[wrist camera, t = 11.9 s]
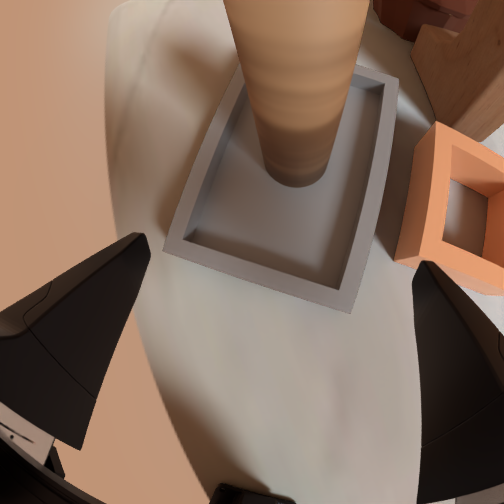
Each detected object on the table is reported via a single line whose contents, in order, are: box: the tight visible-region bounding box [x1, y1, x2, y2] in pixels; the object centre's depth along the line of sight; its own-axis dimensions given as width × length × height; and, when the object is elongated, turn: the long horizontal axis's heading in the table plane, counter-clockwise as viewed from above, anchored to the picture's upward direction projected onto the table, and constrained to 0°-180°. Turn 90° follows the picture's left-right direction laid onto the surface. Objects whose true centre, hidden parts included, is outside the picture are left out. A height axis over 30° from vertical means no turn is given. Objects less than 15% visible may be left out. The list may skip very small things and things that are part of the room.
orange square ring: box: [393, 121, 504, 296], centre depth 14 cm, size 8×8×4 cm
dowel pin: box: [223, 0, 370, 188], centre depth 10 cm, size 4×4×14 cm
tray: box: [162, 63, 399, 314], centre depth 17 cm, size 16×11×2 cm
